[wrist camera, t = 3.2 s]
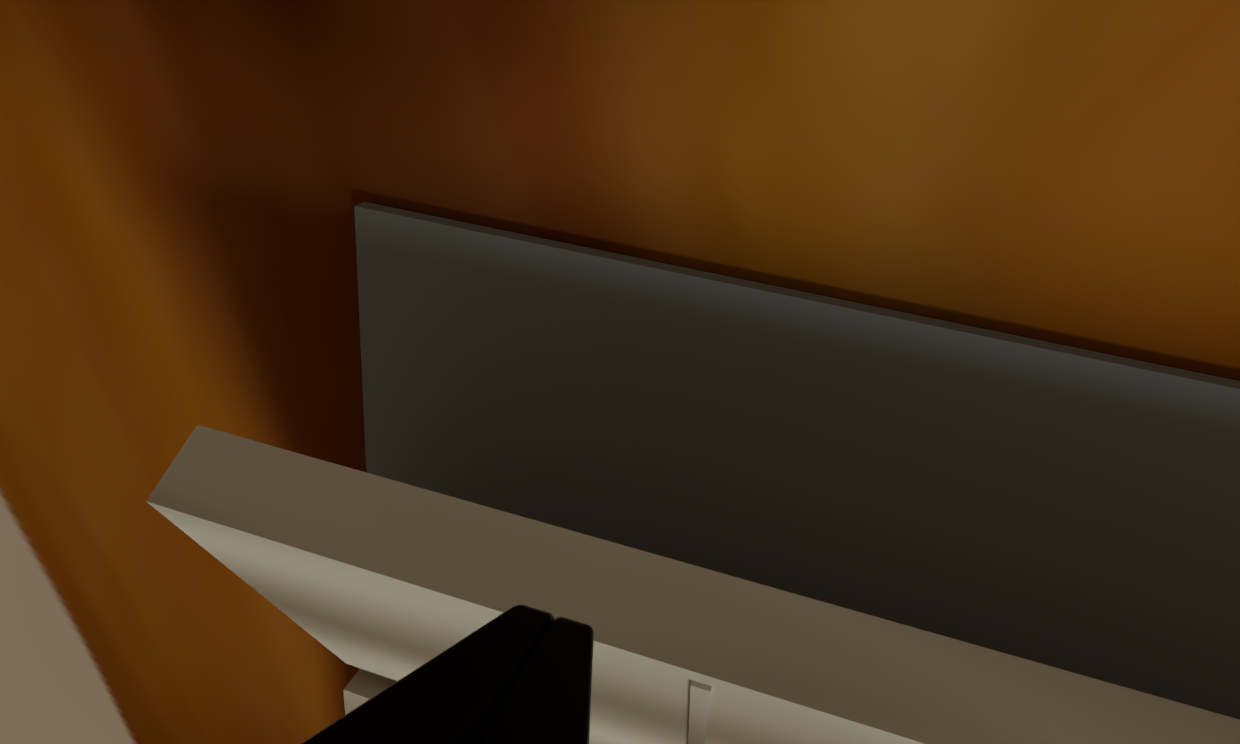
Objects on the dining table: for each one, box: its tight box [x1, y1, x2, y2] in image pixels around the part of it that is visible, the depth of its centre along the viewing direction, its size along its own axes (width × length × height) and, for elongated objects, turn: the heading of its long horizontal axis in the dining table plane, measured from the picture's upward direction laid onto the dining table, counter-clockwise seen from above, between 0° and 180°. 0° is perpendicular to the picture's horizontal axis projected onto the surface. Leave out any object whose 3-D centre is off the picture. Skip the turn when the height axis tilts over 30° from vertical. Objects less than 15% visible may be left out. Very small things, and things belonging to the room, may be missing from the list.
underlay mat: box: [354, 202, 1240, 720], centre depth 15 cm, size 15×23×1 cm, turn 84°
